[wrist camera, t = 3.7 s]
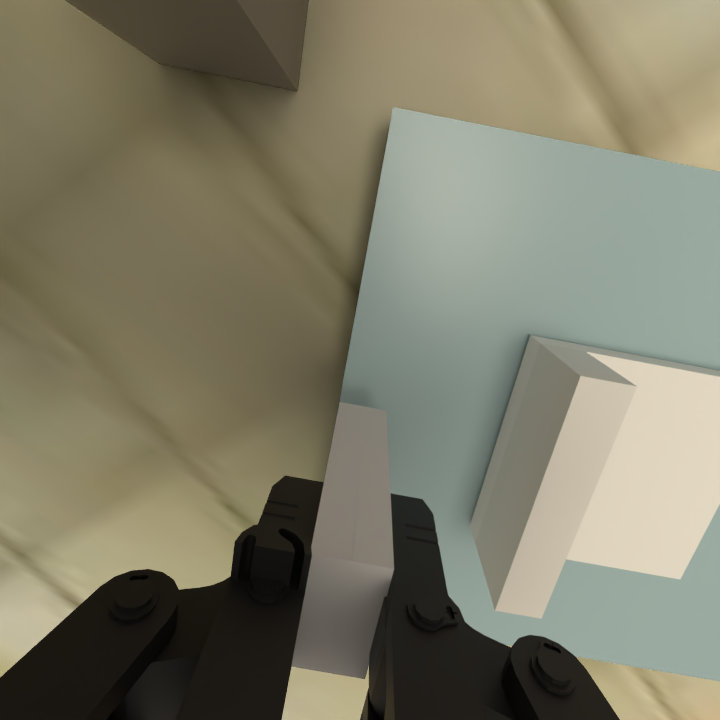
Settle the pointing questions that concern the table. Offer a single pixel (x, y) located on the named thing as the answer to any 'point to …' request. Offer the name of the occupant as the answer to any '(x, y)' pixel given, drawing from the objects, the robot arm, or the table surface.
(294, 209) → the table surface
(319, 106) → the table surface
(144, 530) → the table surface
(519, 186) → the socket plate
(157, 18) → the plug
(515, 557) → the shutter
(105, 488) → the table surface
